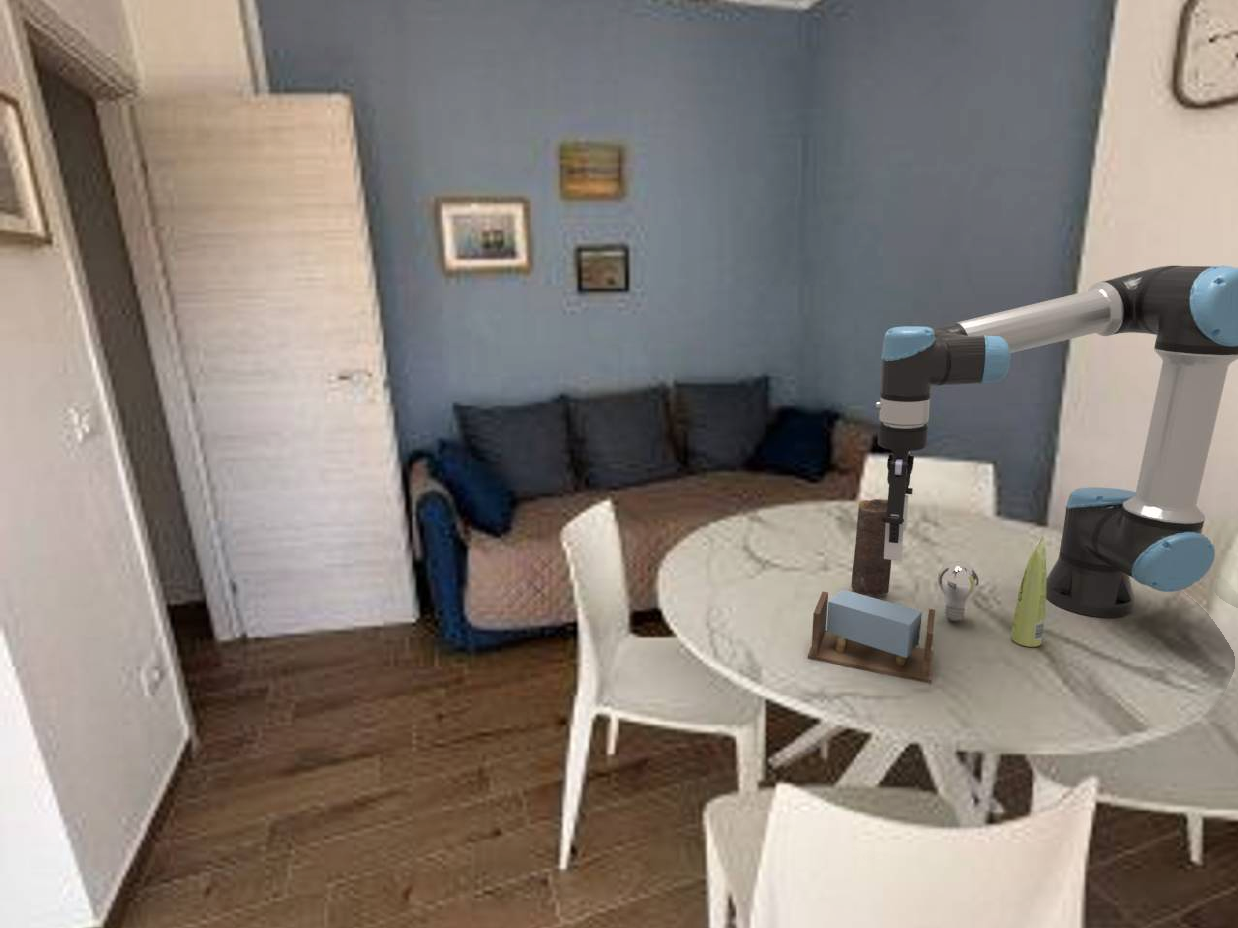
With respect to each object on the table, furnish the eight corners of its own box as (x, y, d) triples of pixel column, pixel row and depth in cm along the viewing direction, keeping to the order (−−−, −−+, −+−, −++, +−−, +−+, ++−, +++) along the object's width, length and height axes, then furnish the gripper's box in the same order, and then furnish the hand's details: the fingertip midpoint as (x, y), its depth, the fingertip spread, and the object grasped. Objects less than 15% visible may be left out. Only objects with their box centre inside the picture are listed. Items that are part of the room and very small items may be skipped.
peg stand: (933, 653, 129) (938, 609, 126) (931, 682, 120) (936, 636, 117) (817, 631, 137) (820, 589, 134) (807, 658, 128) (810, 613, 126)
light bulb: (950, 632, 135) (957, 572, 132) (926, 615, 142) (932, 558, 139) (982, 626, 137) (989, 567, 134) (956, 610, 144) (963, 553, 140)
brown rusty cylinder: (891, 603, 147) (899, 509, 141) (852, 600, 148) (859, 507, 143) (885, 586, 154) (893, 496, 149) (849, 584, 156) (855, 495, 150)
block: (840, 619, 134) (842, 589, 132) (918, 642, 125) (922, 611, 123) (826, 632, 129) (828, 601, 128) (906, 657, 121) (909, 625, 119)
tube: (1002, 633, 135) (1015, 534, 129) (1028, 631, 135) (1043, 532, 130) (1021, 649, 129) (1036, 546, 124) (1048, 647, 130) (1064, 544, 124)
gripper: (884, 406, 132) (878, 516, 138) (871, 440, 110) (864, 569, 116) (929, 408, 129) (921, 520, 135) (925, 443, 107) (915, 576, 113)
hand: (895, 543), depth 126 cm, fingers open, 13 cm apart
